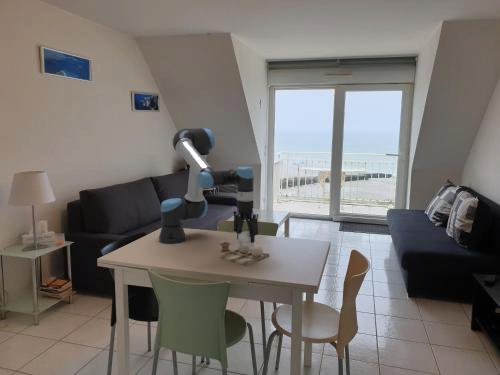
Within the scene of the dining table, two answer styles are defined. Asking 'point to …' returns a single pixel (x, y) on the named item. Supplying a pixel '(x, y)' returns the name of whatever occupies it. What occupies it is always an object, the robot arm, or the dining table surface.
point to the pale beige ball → (244, 248)
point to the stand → (225, 247)
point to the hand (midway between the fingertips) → (245, 247)
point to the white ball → (244, 237)
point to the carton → (243, 257)
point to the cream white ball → (257, 251)
